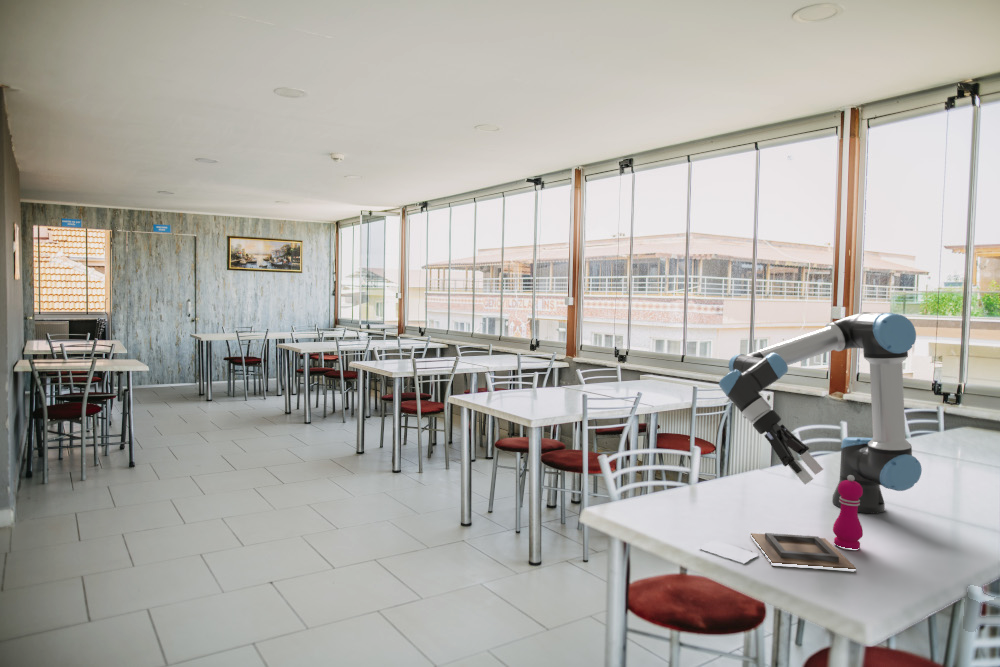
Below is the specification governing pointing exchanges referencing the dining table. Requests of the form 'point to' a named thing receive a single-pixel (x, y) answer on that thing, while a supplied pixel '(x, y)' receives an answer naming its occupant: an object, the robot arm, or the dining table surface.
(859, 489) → the pepper mill
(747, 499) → the dining table surface
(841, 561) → the pocket board
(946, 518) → the dining table surface
